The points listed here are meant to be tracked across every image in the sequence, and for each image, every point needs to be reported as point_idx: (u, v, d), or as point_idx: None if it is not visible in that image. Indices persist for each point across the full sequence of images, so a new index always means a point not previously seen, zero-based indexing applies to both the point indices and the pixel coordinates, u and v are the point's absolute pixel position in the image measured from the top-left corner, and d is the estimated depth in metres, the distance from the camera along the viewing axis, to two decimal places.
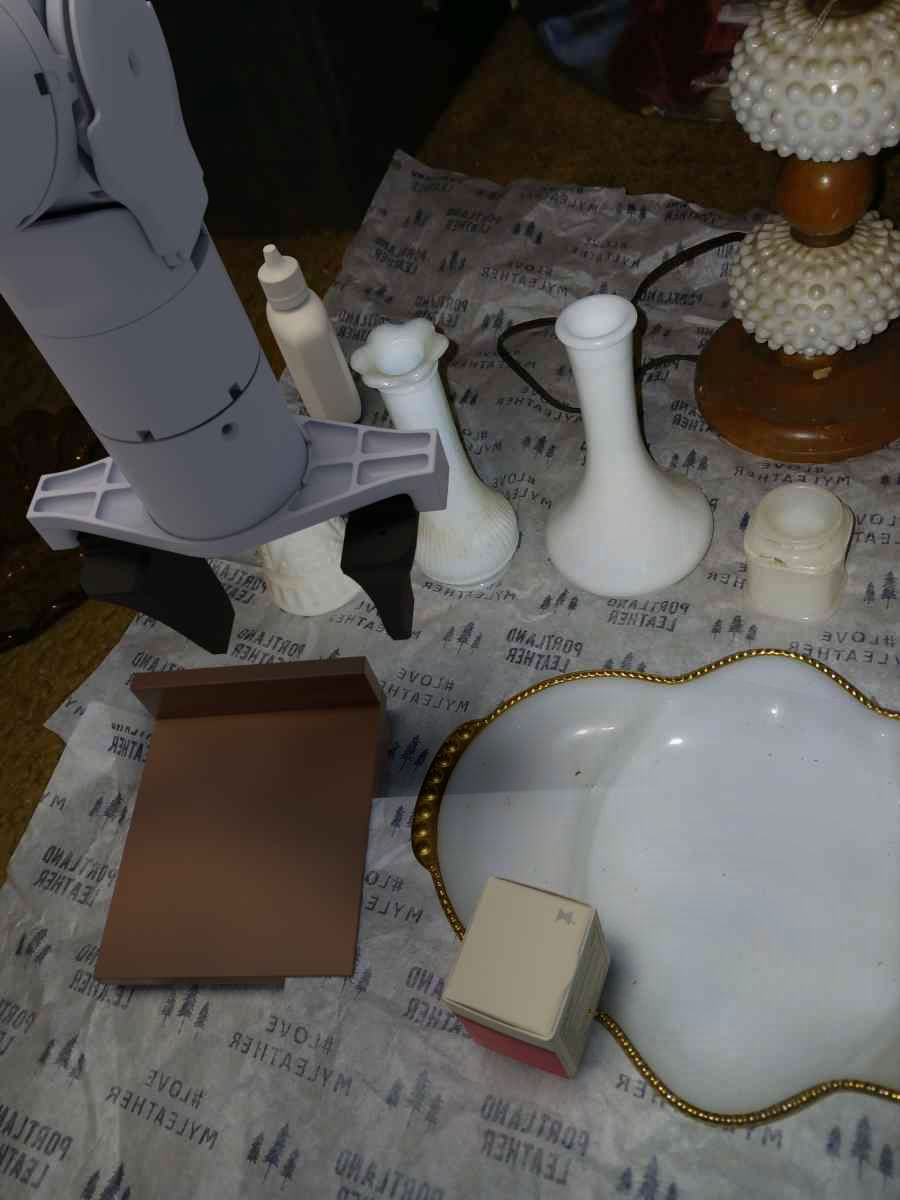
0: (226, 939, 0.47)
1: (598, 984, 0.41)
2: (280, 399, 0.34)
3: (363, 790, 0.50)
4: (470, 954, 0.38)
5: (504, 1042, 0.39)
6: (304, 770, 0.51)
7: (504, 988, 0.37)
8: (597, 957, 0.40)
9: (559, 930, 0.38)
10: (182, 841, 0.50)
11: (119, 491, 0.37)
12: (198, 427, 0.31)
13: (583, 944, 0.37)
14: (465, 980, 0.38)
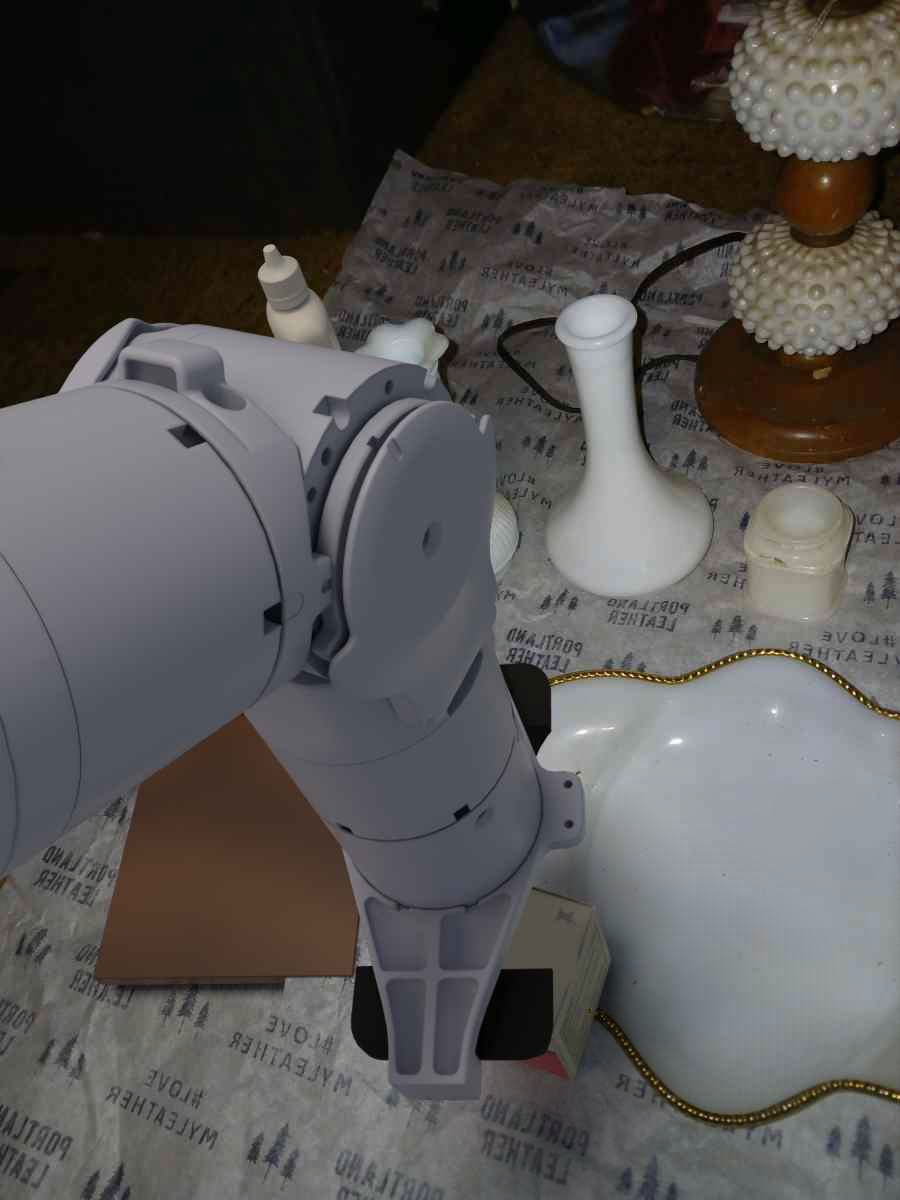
0: (226, 939, 0.47)
1: (598, 984, 0.41)
2: (426, 869, 0.27)
3: None
4: None
5: None
6: None
7: None
8: (597, 957, 0.40)
9: (559, 930, 0.38)
10: (182, 841, 0.50)
11: None
12: None
13: (583, 945, 0.37)
14: None
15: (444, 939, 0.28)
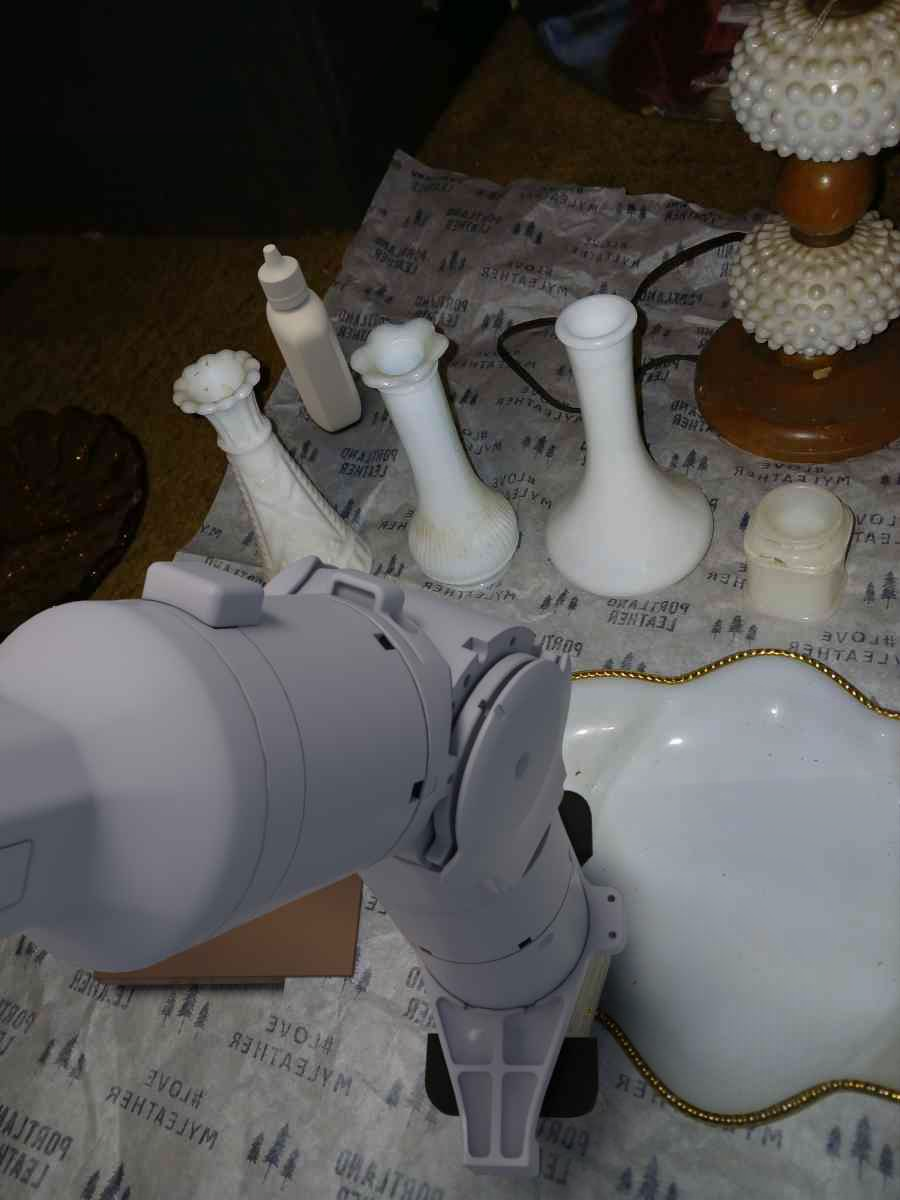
0: (226, 939, 0.47)
1: (598, 984, 0.41)
2: (495, 982, 0.31)
3: None
4: None
5: None
6: None
7: None
8: (597, 957, 0.40)
9: None
10: None
11: None
12: None
13: None
14: None
15: (506, 1036, 0.33)
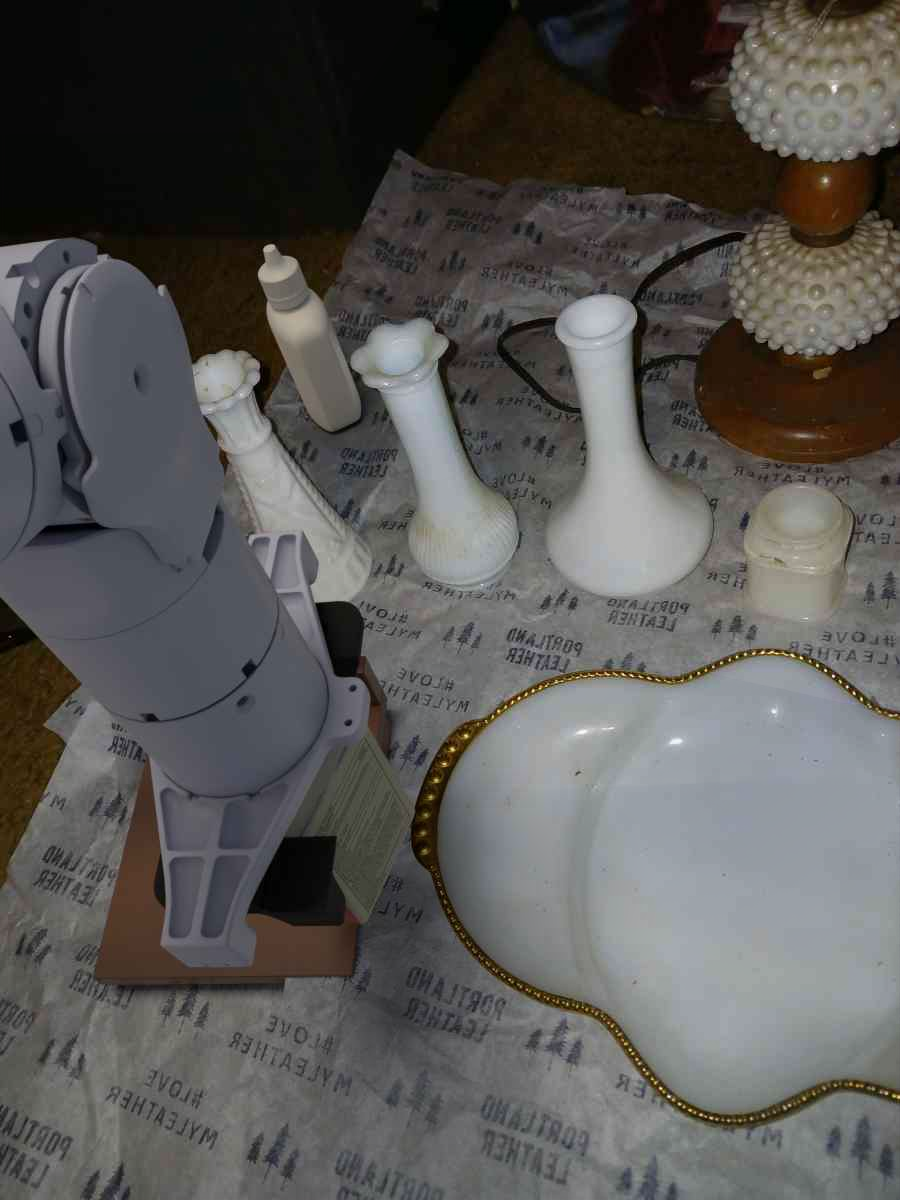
0: None
1: (383, 812, 0.39)
2: (198, 753, 0.29)
3: None
4: None
5: None
6: None
7: None
8: (376, 779, 0.38)
9: None
10: None
11: None
12: None
13: (345, 753, 0.35)
14: None
15: (227, 824, 0.31)
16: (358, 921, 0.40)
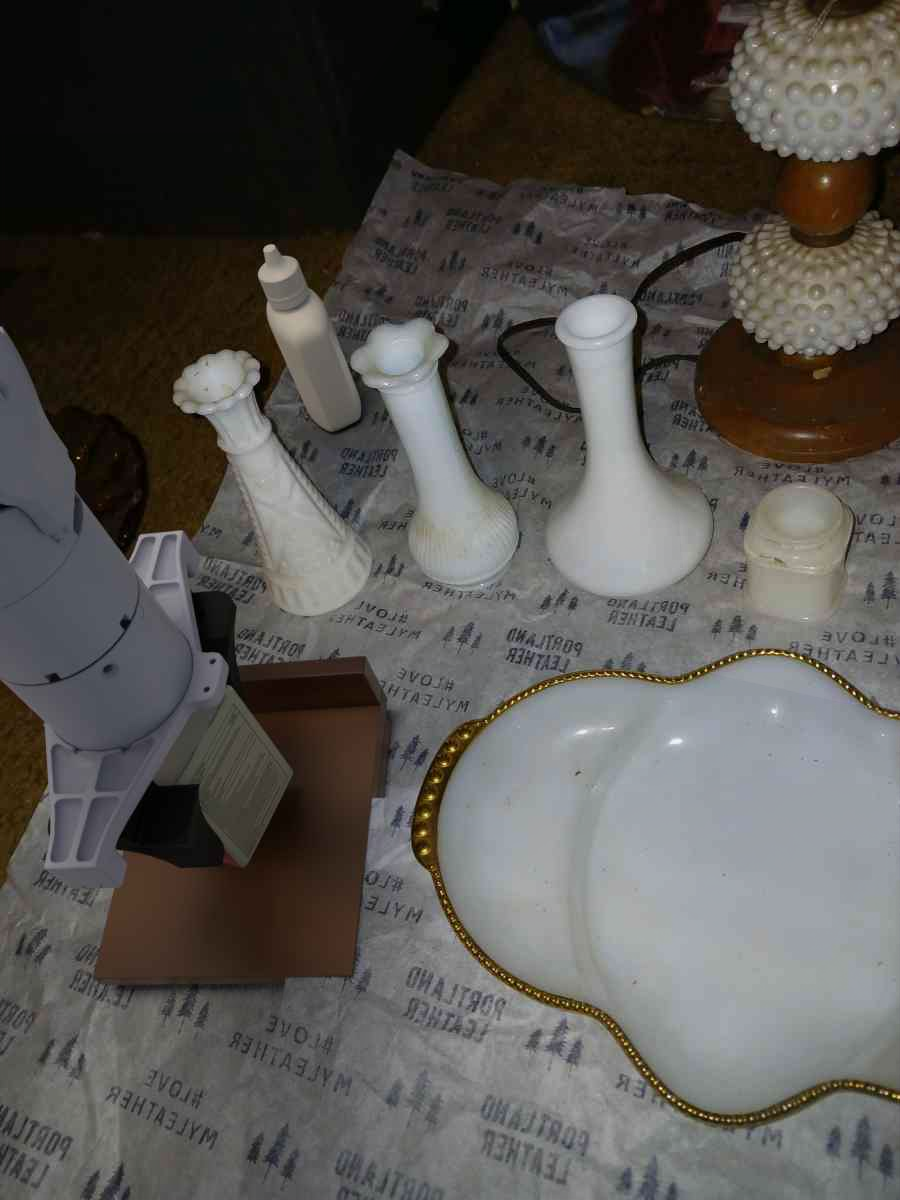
0: (226, 939, 0.47)
1: (258, 771, 0.46)
2: (74, 712, 0.36)
3: (363, 790, 0.50)
4: None
5: None
6: (304, 770, 0.51)
7: None
8: (249, 742, 0.45)
9: None
10: None
11: None
12: None
13: (215, 717, 0.42)
14: None
15: (104, 772, 0.38)
16: (238, 864, 0.46)
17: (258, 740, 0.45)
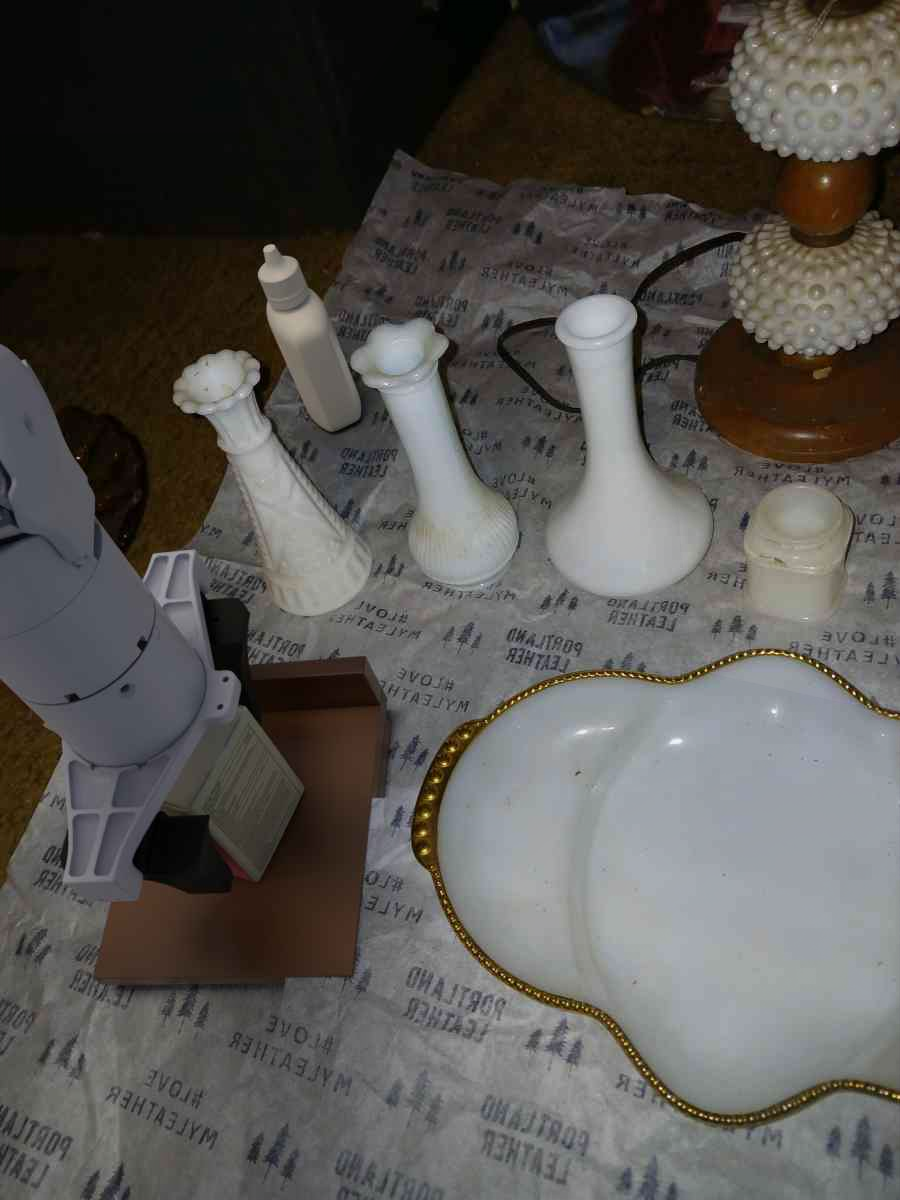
0: (226, 939, 0.47)
1: (271, 788, 0.47)
2: (92, 730, 0.37)
3: (363, 790, 0.50)
4: None
5: None
6: (304, 770, 0.51)
7: None
8: (262, 760, 0.46)
9: (212, 726, 0.44)
10: None
11: None
12: None
13: (230, 737, 0.43)
14: None
15: (120, 788, 0.39)
16: (252, 879, 0.48)
17: (271, 758, 0.47)
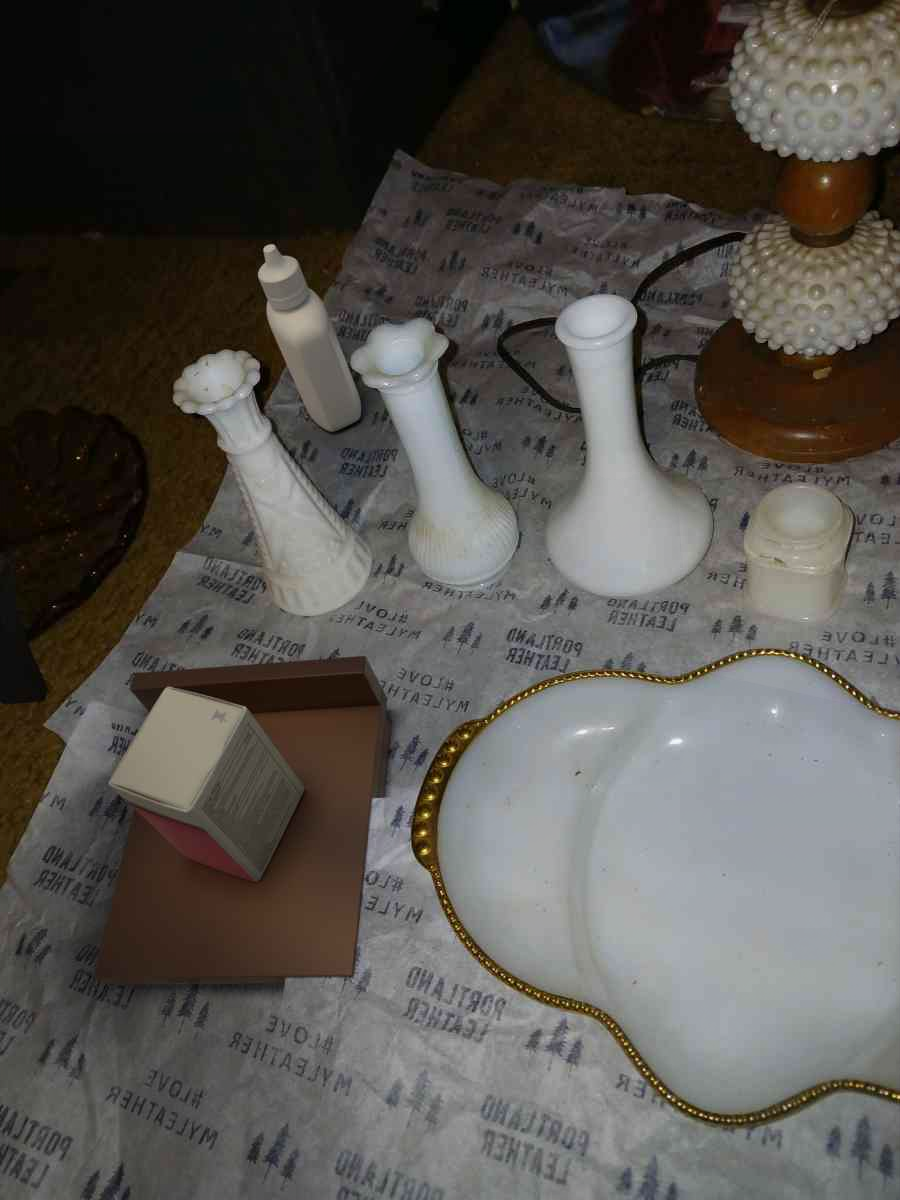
0: (226, 939, 0.47)
1: (271, 788, 0.47)
2: None
3: (363, 790, 0.50)
4: (137, 748, 0.44)
5: (175, 830, 0.45)
6: (304, 770, 0.51)
7: (159, 773, 0.43)
8: (262, 760, 0.46)
9: (212, 726, 0.44)
10: None
11: None
12: None
13: (230, 737, 0.43)
14: (129, 768, 0.44)
15: None
16: (252, 879, 0.48)
17: (271, 758, 0.47)
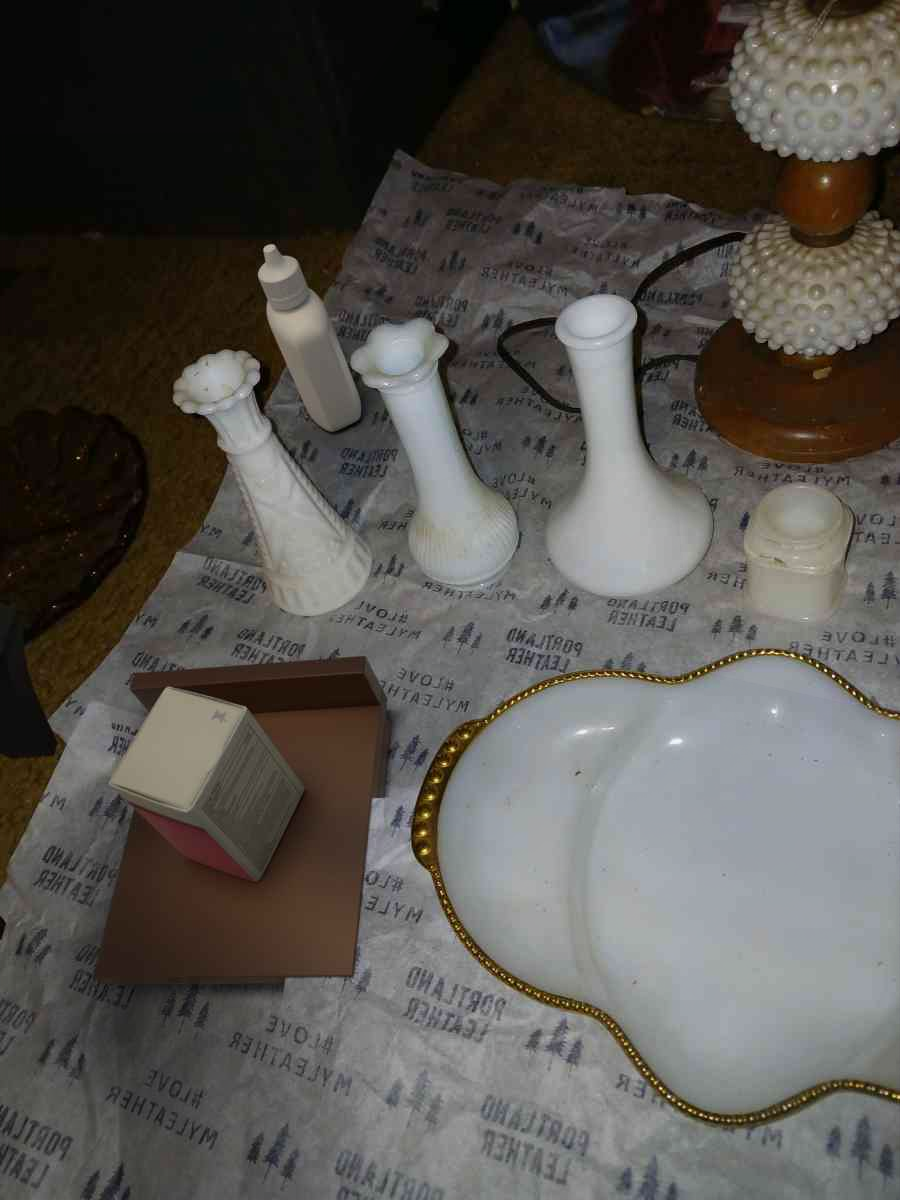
0: (226, 939, 0.47)
1: (271, 788, 0.47)
2: None
3: (363, 790, 0.50)
4: (137, 748, 0.44)
5: (175, 830, 0.45)
6: (304, 770, 0.51)
7: (159, 773, 0.43)
8: (262, 760, 0.46)
9: (212, 726, 0.44)
10: None
11: None
12: None
13: (230, 737, 0.43)
14: (129, 768, 0.44)
15: None
16: (252, 879, 0.48)
17: (271, 758, 0.47)
